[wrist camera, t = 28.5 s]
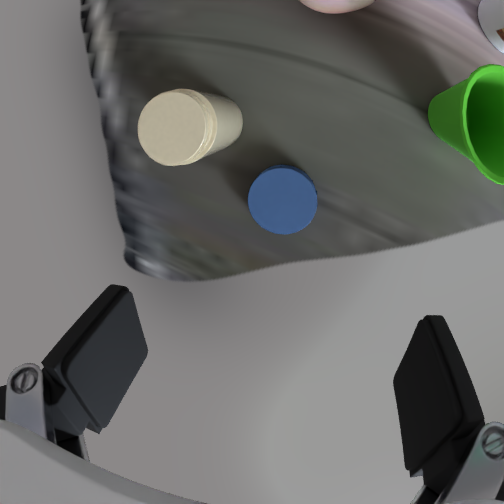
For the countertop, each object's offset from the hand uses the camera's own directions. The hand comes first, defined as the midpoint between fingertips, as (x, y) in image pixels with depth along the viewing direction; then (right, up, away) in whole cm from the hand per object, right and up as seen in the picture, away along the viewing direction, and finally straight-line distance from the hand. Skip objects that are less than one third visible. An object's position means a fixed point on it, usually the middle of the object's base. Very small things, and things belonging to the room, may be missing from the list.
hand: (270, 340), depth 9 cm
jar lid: (+2, +8, +20) cm, 21 cm away
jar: (-4, +16, +19) cm, 25 cm away
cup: (+19, +16, +14) cm, 29 cm away
